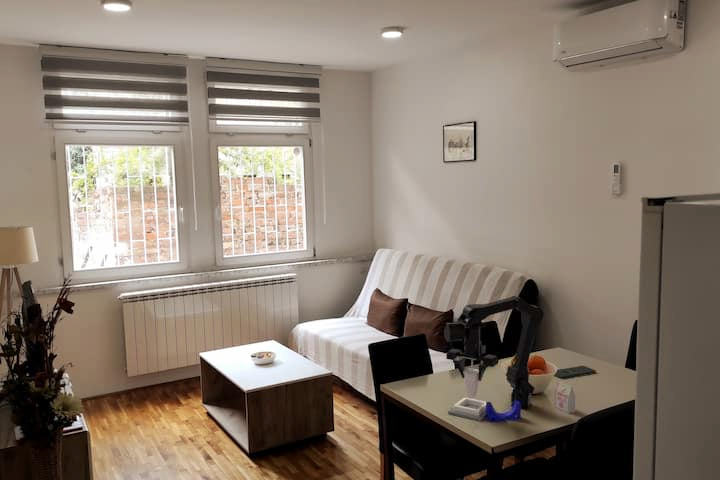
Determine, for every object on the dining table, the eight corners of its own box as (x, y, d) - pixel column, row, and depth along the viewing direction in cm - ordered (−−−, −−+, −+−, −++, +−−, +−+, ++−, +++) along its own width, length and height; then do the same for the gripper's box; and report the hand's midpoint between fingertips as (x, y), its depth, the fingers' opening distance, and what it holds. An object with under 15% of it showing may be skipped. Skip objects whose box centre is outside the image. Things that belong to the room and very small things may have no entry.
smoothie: (480, 393, 226) (481, 358, 224) (479, 399, 220) (480, 363, 218) (463, 391, 228) (464, 356, 226) (461, 398, 222) (462, 361, 220)
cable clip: (489, 422, 215) (489, 406, 214) (485, 417, 219) (486, 401, 219) (521, 421, 216) (522, 405, 215) (517, 416, 220) (518, 400, 219)
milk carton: (561, 405, 230) (562, 380, 228) (574, 411, 224) (575, 386, 222) (554, 407, 228) (555, 382, 227) (567, 413, 222) (568, 387, 221)
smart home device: (548, 370, 267) (583, 365, 274) (548, 374, 267) (583, 368, 274) (561, 376, 259) (596, 370, 267) (561, 380, 259) (596, 374, 267)
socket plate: (494, 409, 226) (494, 402, 226) (480, 421, 215) (481, 413, 215) (462, 402, 233) (462, 395, 233) (448, 413, 222) (448, 406, 222)
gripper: (503, 337, 223) (503, 377, 225) (458, 331, 233) (457, 369, 235) (493, 344, 214) (492, 386, 215) (445, 337, 224) (445, 377, 226)
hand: (471, 379), depth 223 cm, fingers closed on smoothie, 6 cm apart
